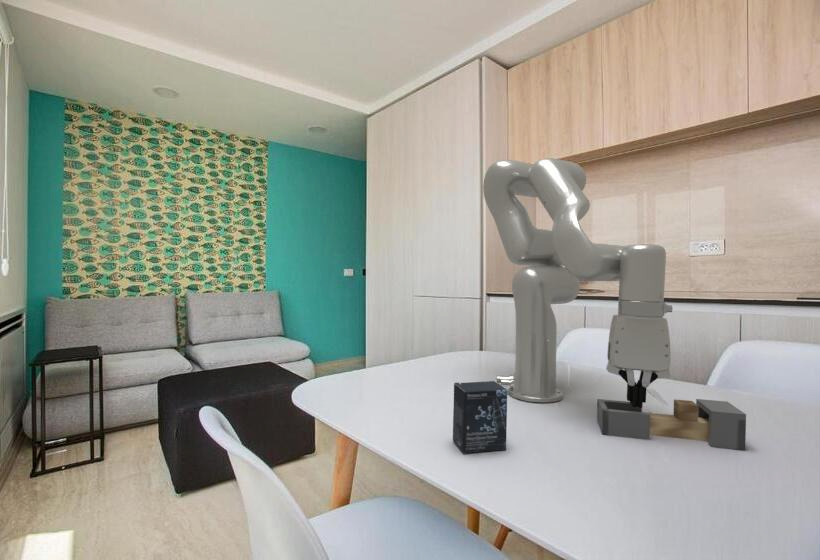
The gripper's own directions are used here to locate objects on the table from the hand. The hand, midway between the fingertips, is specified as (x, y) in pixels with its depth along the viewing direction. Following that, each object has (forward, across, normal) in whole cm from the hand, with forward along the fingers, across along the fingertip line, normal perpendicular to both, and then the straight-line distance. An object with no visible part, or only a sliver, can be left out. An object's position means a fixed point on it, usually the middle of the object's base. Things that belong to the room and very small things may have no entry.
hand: (635, 405), depth 80 cm
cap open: (+5, +2, +1) cm, 5 cm away
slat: (+5, -7, 0) cm, 9 cm away
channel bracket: (+4, -14, +1) cm, 14 cm away
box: (+5, +27, +17) cm, 33 cm away
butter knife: (+6, -11, -19) cm, 23 cm away
